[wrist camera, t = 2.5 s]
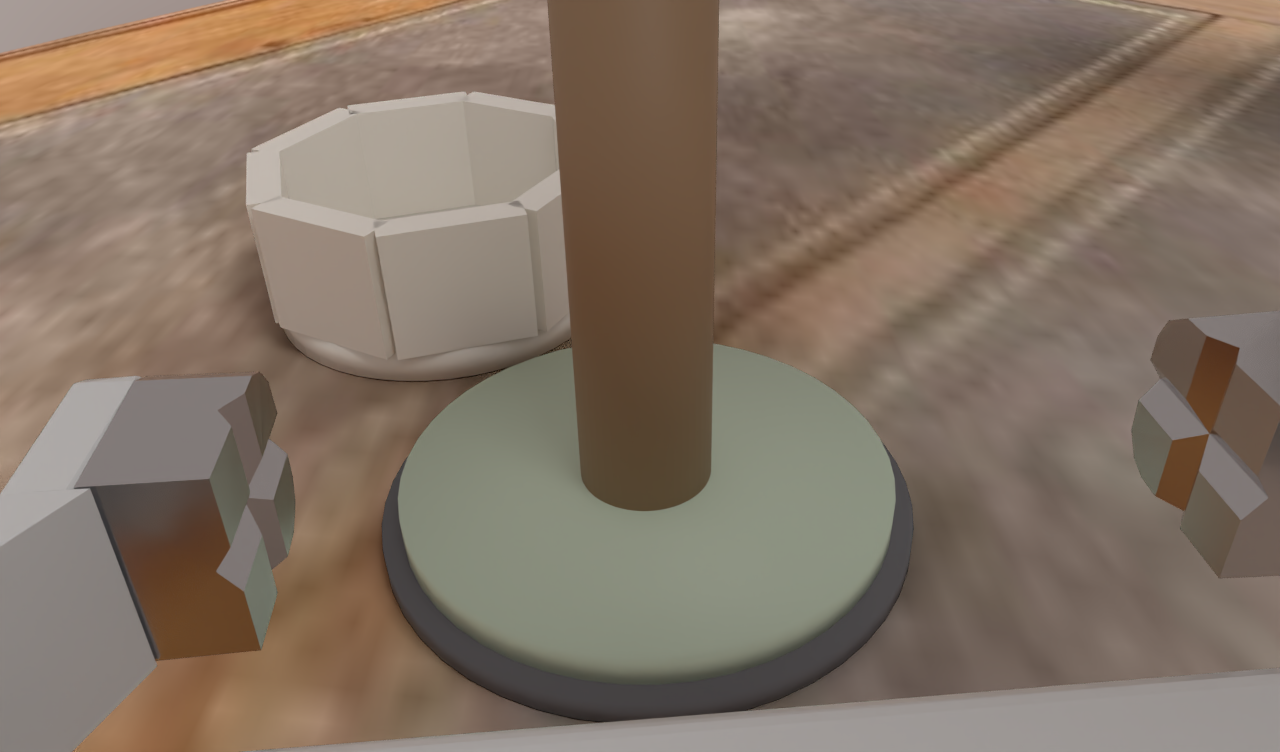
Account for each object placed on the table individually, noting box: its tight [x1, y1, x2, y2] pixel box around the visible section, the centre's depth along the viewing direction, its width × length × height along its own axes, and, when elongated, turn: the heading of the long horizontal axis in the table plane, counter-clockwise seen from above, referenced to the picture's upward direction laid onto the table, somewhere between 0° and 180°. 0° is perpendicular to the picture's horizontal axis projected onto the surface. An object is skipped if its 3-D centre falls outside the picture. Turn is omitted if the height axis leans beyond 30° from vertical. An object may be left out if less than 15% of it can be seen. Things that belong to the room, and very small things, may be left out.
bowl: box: [246, 92, 571, 381], centre depth 35 cm, size 11×11×5 cm
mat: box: [382, 441, 914, 722], centre depth 27 cm, size 13×13×1 cm
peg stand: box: [398, 0, 896, 685], centre depth 23 cm, size 12×12×13 cm
